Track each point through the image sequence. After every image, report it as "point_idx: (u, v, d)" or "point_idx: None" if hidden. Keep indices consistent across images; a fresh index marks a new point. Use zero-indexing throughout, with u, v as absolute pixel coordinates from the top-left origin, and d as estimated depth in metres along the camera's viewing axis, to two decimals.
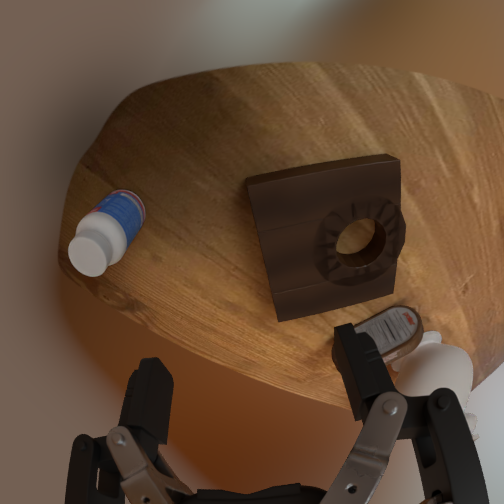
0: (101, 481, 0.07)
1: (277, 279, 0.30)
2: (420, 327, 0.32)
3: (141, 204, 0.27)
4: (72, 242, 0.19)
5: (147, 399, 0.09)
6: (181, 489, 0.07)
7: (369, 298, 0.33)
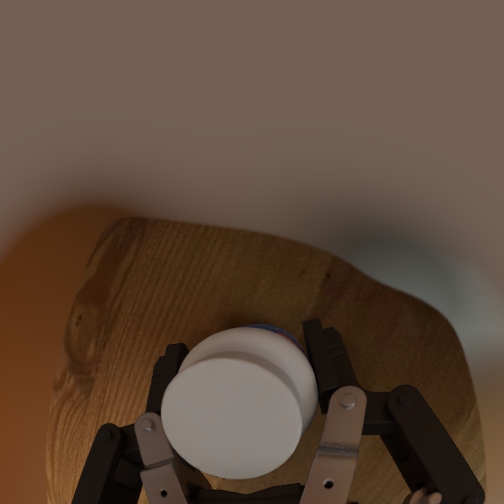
0: (120, 469, 0.08)
1: None
2: None
3: None
4: (271, 380, 0.06)
5: None
6: (201, 484, 0.07)
7: None
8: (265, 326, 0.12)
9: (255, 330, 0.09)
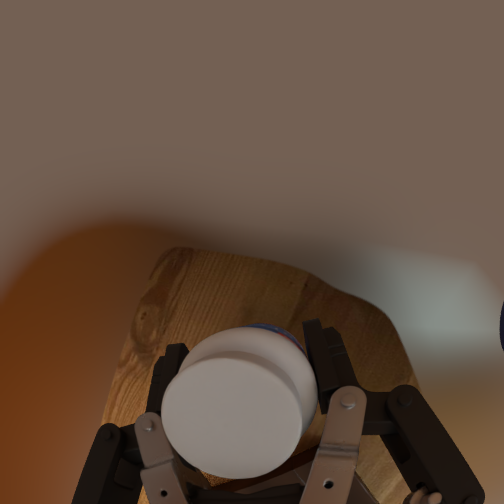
0: (119, 469, 0.08)
1: None
2: None
3: None
4: (271, 380, 0.06)
5: None
6: (201, 484, 0.07)
7: None
8: (265, 326, 0.12)
9: (255, 330, 0.09)
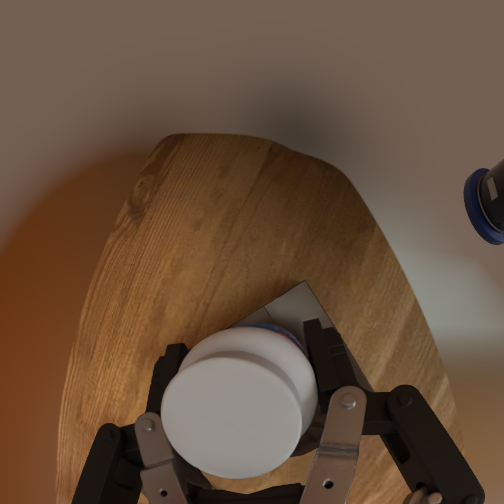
0: (119, 469, 0.08)
1: None
2: None
3: None
4: (271, 379, 0.06)
5: None
6: (201, 484, 0.07)
7: None
8: (265, 326, 0.12)
9: (255, 329, 0.09)
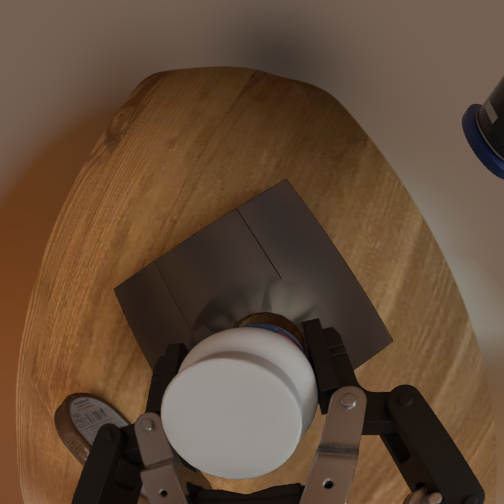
0: (119, 469, 0.08)
1: (178, 257, 0.22)
2: None
3: None
4: (271, 380, 0.06)
5: None
6: (201, 484, 0.07)
7: None
8: (265, 326, 0.12)
9: (255, 330, 0.09)
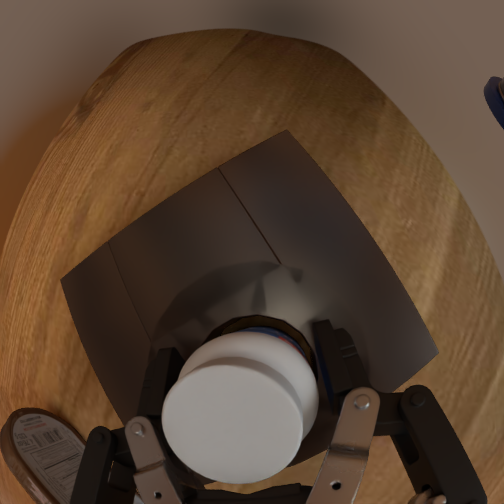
0: (113, 472, 0.08)
1: (136, 235, 0.15)
2: None
3: None
4: (272, 386, 0.06)
5: (166, 388, 0.10)
6: (194, 485, 0.07)
7: None
8: (265, 329, 0.12)
9: (256, 335, 0.09)
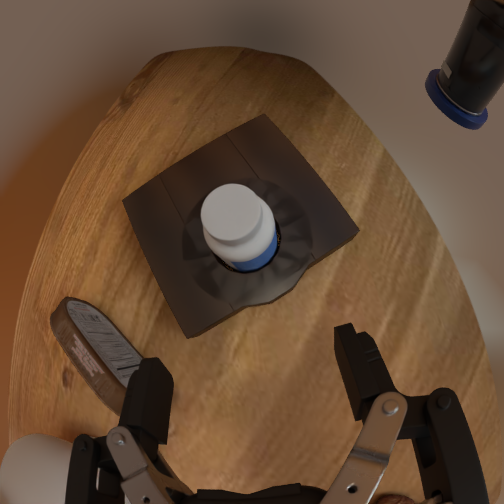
0: (101, 481, 0.07)
1: (177, 169, 0.26)
2: None
3: None
4: (247, 189, 0.18)
5: (147, 399, 0.09)
6: (181, 489, 0.07)
7: (171, 301, 0.23)
8: None
9: None
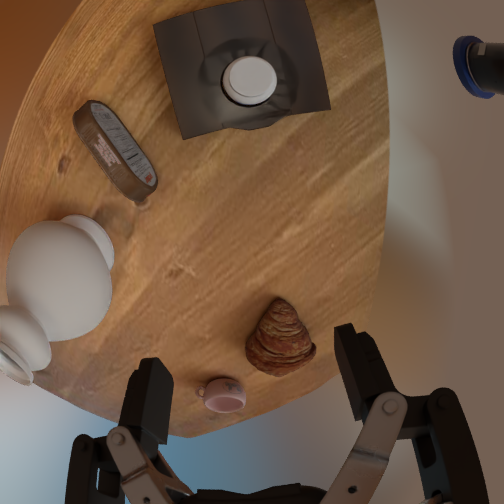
0: (101, 481, 0.07)
1: (211, 13, 0.21)
2: (147, 187, 0.29)
3: None
4: (268, 67, 0.20)
5: (147, 399, 0.09)
6: (181, 489, 0.07)
7: (178, 111, 0.28)
8: None
9: None
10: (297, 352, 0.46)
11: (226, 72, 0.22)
